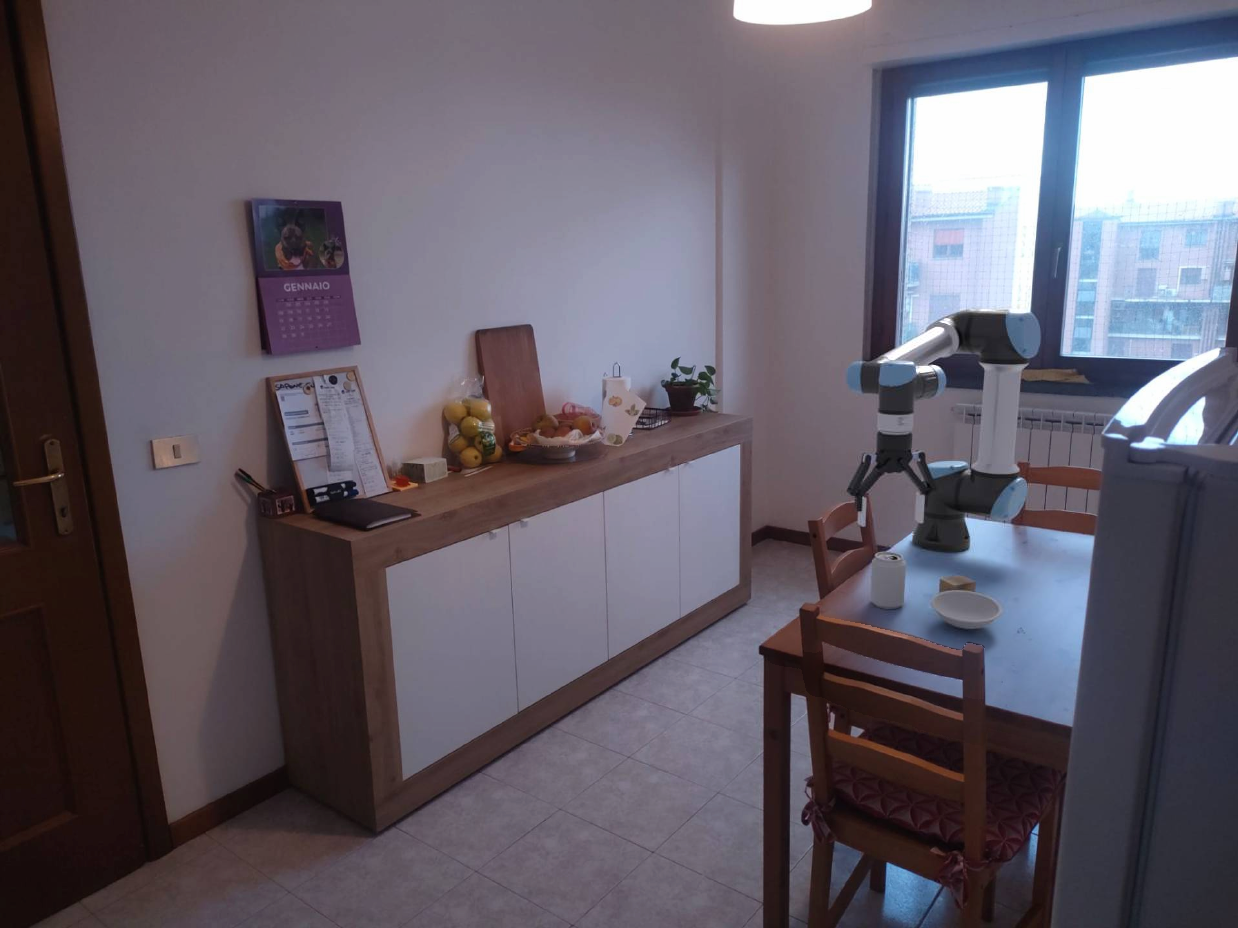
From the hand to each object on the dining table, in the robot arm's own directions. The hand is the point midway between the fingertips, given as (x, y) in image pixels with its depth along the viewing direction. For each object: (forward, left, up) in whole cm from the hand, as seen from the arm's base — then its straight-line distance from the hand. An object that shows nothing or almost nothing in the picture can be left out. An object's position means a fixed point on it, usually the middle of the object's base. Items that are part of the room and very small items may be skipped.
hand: (890, 523), depth 195 cm
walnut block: (-18, -2, -20) cm, 27 cm away
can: (0, 0, -20) cm, 20 cm away
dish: (-11, +15, -20) cm, 27 cm away
